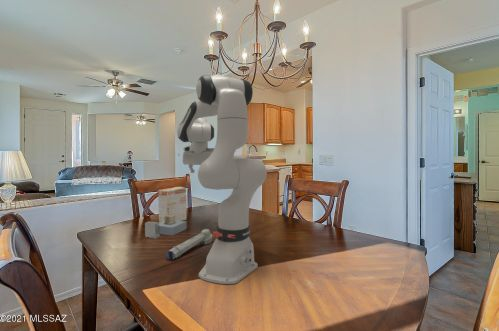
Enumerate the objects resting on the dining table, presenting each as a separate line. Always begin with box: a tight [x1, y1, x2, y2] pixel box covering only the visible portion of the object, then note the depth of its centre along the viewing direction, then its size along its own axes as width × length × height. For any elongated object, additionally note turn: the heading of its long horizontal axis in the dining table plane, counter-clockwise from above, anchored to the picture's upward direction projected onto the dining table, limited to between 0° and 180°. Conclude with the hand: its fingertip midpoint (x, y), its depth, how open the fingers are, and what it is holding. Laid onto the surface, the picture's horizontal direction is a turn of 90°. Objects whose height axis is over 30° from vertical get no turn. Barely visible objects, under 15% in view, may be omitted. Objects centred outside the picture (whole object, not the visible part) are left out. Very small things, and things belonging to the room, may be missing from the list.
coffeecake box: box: [157, 186, 187, 223], centre depth 157 cm, size 15×7×20 cm, turn 144°
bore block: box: [159, 220, 188, 237], centre depth 139 cm, size 12×12×4 cm
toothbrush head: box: [165, 228, 213, 261], centre depth 114 cm, size 5×7×25 cm
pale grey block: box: [144, 221, 161, 239], centre depth 129 cm, size 3×6×7 cm, turn 70°
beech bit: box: [165, 215, 175, 225], centre depth 139 cm, size 4×4×8 cm
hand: (199, 173), depth 148 cm, fingers open, 8 cm apart
